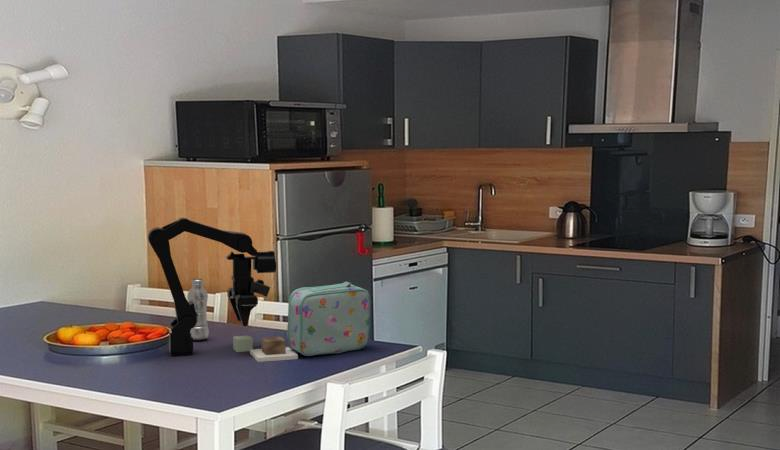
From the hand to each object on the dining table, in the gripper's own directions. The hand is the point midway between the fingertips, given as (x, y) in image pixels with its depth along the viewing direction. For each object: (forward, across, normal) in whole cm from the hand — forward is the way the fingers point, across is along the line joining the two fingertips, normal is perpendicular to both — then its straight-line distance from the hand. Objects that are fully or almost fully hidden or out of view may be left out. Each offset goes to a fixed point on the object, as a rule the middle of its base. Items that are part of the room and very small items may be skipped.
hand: (242, 323), depth 286 cm
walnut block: (+7, -12, -7) cm, 16 cm away
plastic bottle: (+8, +19, +11) cm, 23 cm away
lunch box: (+8, -11, -25) cm, 29 cm away
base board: (+8, -12, -7) cm, 16 cm away
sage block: (+8, 0, 0) cm, 8 cm away
